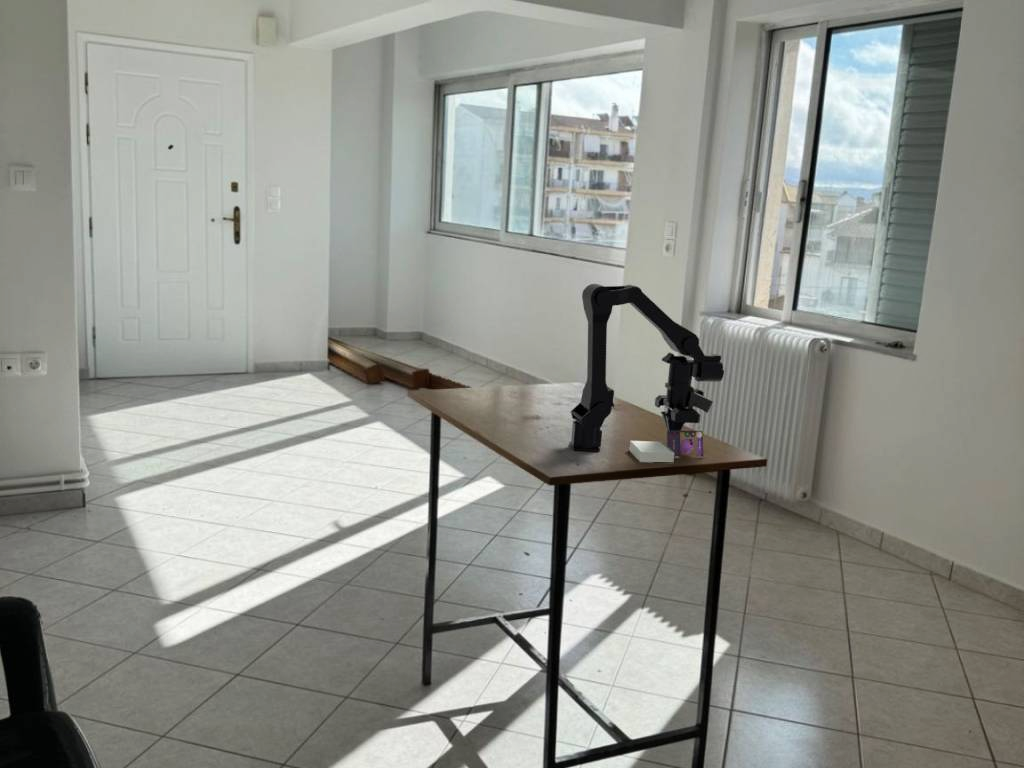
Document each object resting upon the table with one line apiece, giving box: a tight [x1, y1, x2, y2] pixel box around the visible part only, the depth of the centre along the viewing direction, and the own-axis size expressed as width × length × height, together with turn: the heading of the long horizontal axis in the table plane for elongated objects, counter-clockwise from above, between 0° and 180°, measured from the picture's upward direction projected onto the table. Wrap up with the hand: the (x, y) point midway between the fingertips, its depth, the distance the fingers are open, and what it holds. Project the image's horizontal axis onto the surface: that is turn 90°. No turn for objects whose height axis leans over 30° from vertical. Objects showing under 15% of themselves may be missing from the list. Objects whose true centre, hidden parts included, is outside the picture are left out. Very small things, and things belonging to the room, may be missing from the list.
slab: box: [628, 440, 675, 463], centre depth 226 cm, size 8×10×3 cm
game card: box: [666, 429, 704, 457], centre depth 229 cm, size 7×5×9 cm
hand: (673, 442), depth 235 cm, fingers closed
